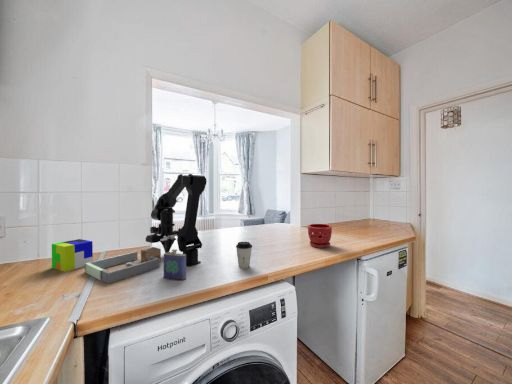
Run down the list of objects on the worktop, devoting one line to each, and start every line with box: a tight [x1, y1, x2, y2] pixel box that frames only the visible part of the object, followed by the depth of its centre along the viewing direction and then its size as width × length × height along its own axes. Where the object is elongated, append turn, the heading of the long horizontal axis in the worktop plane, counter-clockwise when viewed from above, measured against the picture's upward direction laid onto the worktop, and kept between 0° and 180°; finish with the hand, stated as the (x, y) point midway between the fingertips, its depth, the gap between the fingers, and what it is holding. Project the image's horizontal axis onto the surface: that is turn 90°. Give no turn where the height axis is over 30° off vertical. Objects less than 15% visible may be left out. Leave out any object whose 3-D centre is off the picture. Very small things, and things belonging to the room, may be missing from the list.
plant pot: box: [307, 223, 333, 249], centre depth 127 cm, size 13×13×12 cm
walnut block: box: [140, 246, 162, 262], centre depth 102 cm, size 6×6×5 cm
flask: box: [163, 248, 187, 281], centre depth 81 cm, size 9×3×11 cm, turn 74°
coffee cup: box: [235, 241, 253, 269], centre depth 93 cm, size 7×7×10 cm
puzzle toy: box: [51, 238, 94, 273], centre depth 94 cm, size 10×10×10 cm
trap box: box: [84, 251, 161, 284], centre depth 90 cm, size 19×20×4 cm
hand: (167, 253), depth 109 cm, fingers closed
